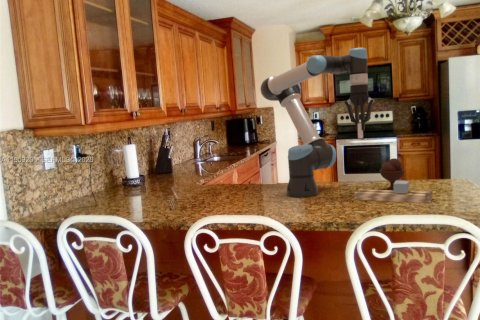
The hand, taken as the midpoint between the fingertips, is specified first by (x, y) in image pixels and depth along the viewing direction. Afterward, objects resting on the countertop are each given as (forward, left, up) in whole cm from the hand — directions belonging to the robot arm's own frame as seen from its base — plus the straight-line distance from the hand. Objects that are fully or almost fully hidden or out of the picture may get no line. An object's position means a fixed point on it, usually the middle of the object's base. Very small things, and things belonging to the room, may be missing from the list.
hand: (360, 137), depth 182 cm
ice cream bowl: (+10, +15, -26) cm, 32 cm away
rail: (+14, -5, -26) cm, 30 cm away
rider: (+18, -5, -25) cm, 31 cm away
